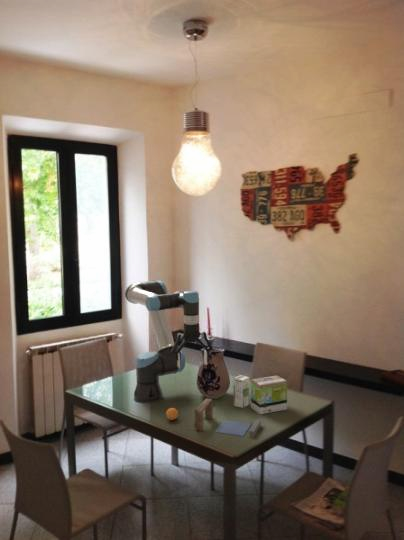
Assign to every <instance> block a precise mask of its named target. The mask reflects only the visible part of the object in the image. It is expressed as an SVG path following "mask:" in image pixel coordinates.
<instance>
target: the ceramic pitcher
mask: <svg viewBox="0 0 404 540" xmlns="http://www.w3.org/2000/svg"><path fill="white" fill-rule="evenodd" d="M206 347H207V348H208V346H206ZM212 348H213V349H212V350H210V351H209V358H207V365H205V363H204V351H205V350H206V349H205V348H204V347H202V348H201V349H200V353H201V359H200V363H199V367H198V371H197V374H196V386H197V389H198V392H199V393H200V394H201V395H202V396H203V397H205V398H206V399H212V400H213V399H219V398H222V397H224V396H225V395H226V394H227V392H228V390H229V389H230V385H231V379H230V374H229V371H228V368H227V365H226V362H225V360H224V353H225V351H226V350H225V349H224V347H223V346H221V345H217V346H212Z"/></svg>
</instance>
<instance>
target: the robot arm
mask: <svg viewBox="0 0 404 540" xmlns="http://www.w3.org/2000/svg"><path fill="white" fill-rule="evenodd" d="M124 295H125V299H126V300H127V301H128V302H129V303H131V304H133V305H134V304H135V305H136V304H139V305H142V306H144V307H146V309H147V311H149V312H150V318H151V321H152V325H153V329H154V333H155V337H156V340H157V345H158V350H157V351H145V352H143V353H140V354H138V355H137V357H136V358H135V371H136V385H135V389H134V392H133V399H134V400H135V401H136V400H137V401H136V402H139V401H140V402H139V403H153V401H154V402H158V401H159V400H161V399H163V397H164V394H163V390H162V387H161V384H160V377H163V376H167V375H173V374H178V373H181V372H183V371H184V369H185V367H186V354H185V352H184V350H183V348H184V347H185V345H186V344H187V343H196V342H198V343H199V345H201V347H202V348H205V349H206V350H205V351H204V363H205V365H207V358H209V351H210V350H212V349H213V348H212V347H213V346H212V344H211V342H210V341H209V339H208V337H207V333H206V331H205V330H203V331H200V298H199V295H200V294H199V292H198V291H196V290H185V291H181V290H180V291H175V292H171V293H168V289H167V286H166V284H165V283H164V281H162V280H155V279H154V280H149V281H139V282H138V281H137V282H133V283H131V284H129V286H128V287H126V289H125V293H124ZM173 309H183V333H180V332H178V333H177V335H176V336H177V337H176V339H175V341H174V338H173V333H172V329H171V326H170V322H169V318H168V314H167V311H166V310H173ZM201 336H202V337H203V340H204V341H205V343H206V345H207V346H206V345H205V343H203V342H202V340H201V339H200V337H201ZM183 337H184V338H183ZM182 338H183V340H182V342H181V339H182ZM180 342H181V343H180ZM179 343H180V344H179ZM207 347H208V348H207ZM157 400H158V401H157Z"/></svg>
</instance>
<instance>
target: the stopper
mask: <svg viewBox="0 0 404 540" xmlns="http://www.w3.org/2000/svg"><path fill="white" fill-rule="evenodd" d="M261 426H262V421H261V420H260V419H256V420H255V422H254V423H253V424H252V425H251V428H250V429H249V432H248V436H249V437H250V438H254V437H256V435H257V433H258V431H259V429H261Z"/></svg>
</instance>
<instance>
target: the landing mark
mask: <svg viewBox="0 0 404 540" xmlns="http://www.w3.org/2000/svg"><path fill="white" fill-rule="evenodd" d="M250 427H252V422H251V423H249V422H242V421H234V420H228V419H227V420H226V419H224V420H223V421H222V422H221V424H219V426H218V427H217V428H216V430H215V431H214V433H218V434H225V435H232V436H239V437H244V436H245V435H246V433H247V432H248V430H250V429H249V428H250Z"/></svg>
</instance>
